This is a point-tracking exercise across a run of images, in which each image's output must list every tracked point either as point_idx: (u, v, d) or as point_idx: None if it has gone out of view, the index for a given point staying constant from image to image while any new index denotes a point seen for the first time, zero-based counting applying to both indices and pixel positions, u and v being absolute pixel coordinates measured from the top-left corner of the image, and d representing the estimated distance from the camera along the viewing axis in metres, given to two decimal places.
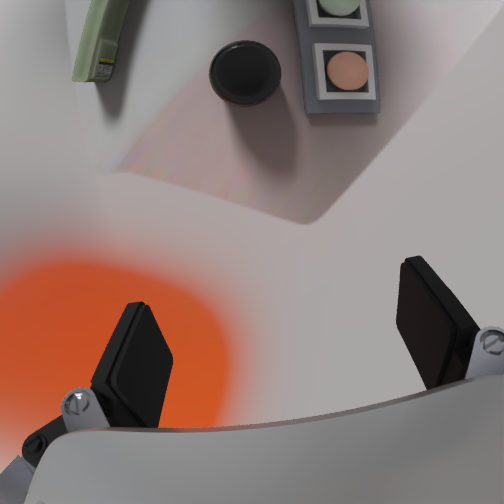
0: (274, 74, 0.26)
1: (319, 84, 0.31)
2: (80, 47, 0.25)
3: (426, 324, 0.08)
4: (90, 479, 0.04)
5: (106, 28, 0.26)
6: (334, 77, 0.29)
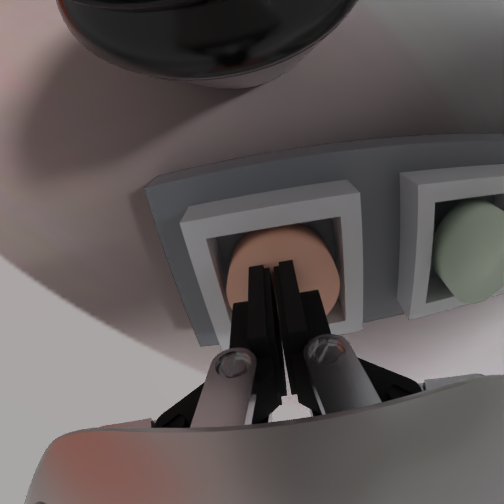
0: (192, 36, 0.04)
1: (226, 216, 0.11)
2: None
3: None
4: (90, 479, 0.04)
5: None
6: (255, 256, 0.11)
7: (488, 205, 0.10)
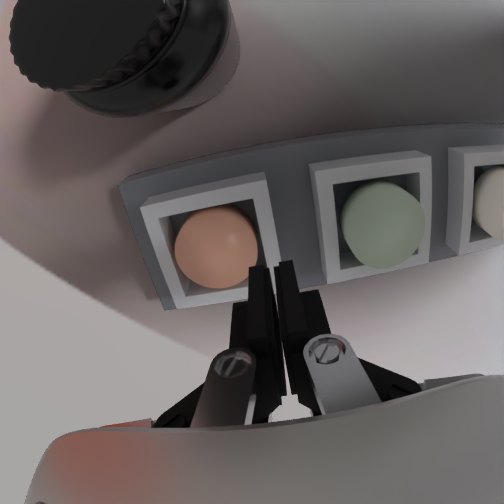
0: (121, 98, 0.08)
1: (171, 201, 0.16)
2: None
3: None
4: (90, 479, 0.04)
5: None
6: (192, 226, 0.16)
7: (385, 184, 0.15)
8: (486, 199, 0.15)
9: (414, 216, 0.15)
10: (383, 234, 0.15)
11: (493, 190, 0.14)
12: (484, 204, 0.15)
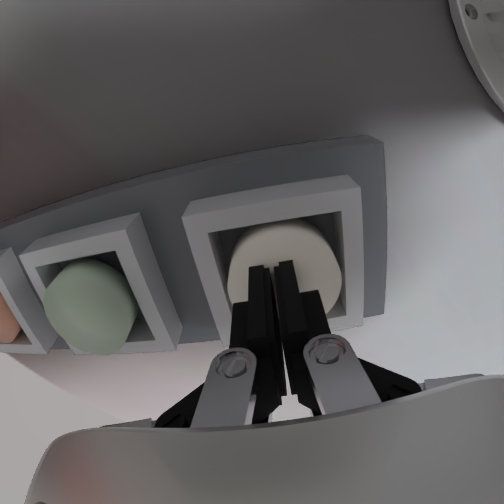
0: None
1: None
2: None
3: None
4: (90, 479, 0.04)
5: None
6: None
7: (73, 268, 0.12)
8: None
9: (103, 308, 0.12)
10: (78, 323, 0.13)
11: (232, 265, 0.12)
12: None
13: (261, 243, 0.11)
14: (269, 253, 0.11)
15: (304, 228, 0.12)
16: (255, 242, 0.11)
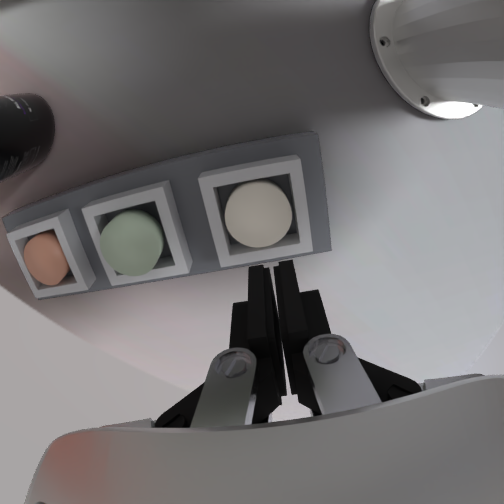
0: None
1: (18, 230, 0.21)
2: None
3: None
4: (90, 479, 0.04)
5: None
6: (29, 245, 0.21)
7: (125, 213, 0.20)
8: None
9: (145, 236, 0.20)
10: (125, 250, 0.21)
11: (227, 203, 0.20)
12: None
13: (243, 189, 0.20)
14: (248, 194, 0.20)
15: (268, 182, 0.21)
16: (240, 188, 0.20)
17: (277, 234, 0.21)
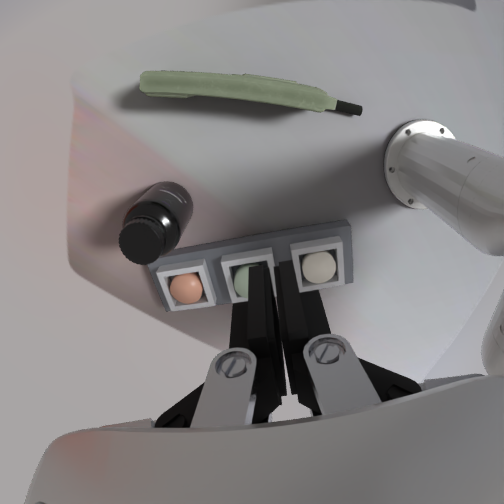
0: None
1: (168, 271, 0.41)
2: (178, 75, 0.28)
3: None
4: (90, 479, 0.04)
5: None
6: (176, 280, 0.42)
7: (249, 266, 0.41)
8: (303, 266, 0.41)
9: None
10: None
11: (305, 262, 0.40)
12: (302, 267, 0.41)
13: (314, 256, 0.40)
14: (315, 258, 0.40)
15: (325, 251, 0.41)
16: (312, 256, 0.40)
17: (328, 277, 0.41)
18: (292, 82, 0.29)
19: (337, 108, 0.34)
